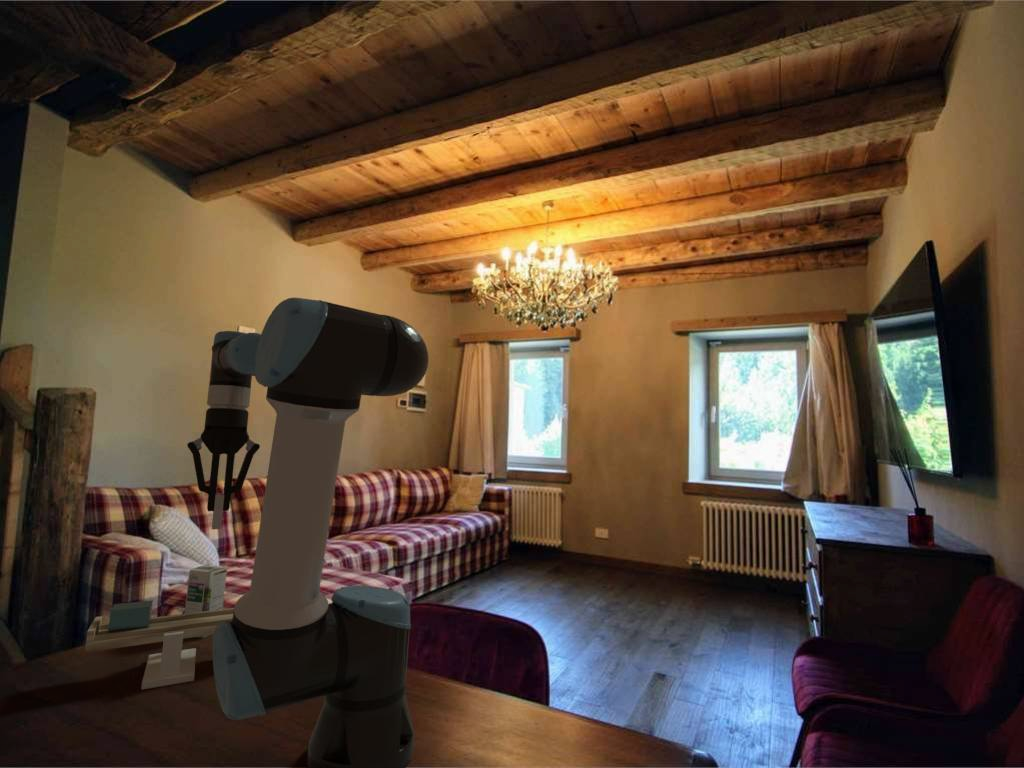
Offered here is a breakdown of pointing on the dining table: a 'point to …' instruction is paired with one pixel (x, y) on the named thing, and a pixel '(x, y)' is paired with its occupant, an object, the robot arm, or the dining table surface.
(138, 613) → the rider
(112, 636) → the balance beam
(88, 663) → the dining table surface
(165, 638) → the pivot stand
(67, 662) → the dining table surface
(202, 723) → the dining table surface
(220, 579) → the syrup box
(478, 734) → the dining table surface
